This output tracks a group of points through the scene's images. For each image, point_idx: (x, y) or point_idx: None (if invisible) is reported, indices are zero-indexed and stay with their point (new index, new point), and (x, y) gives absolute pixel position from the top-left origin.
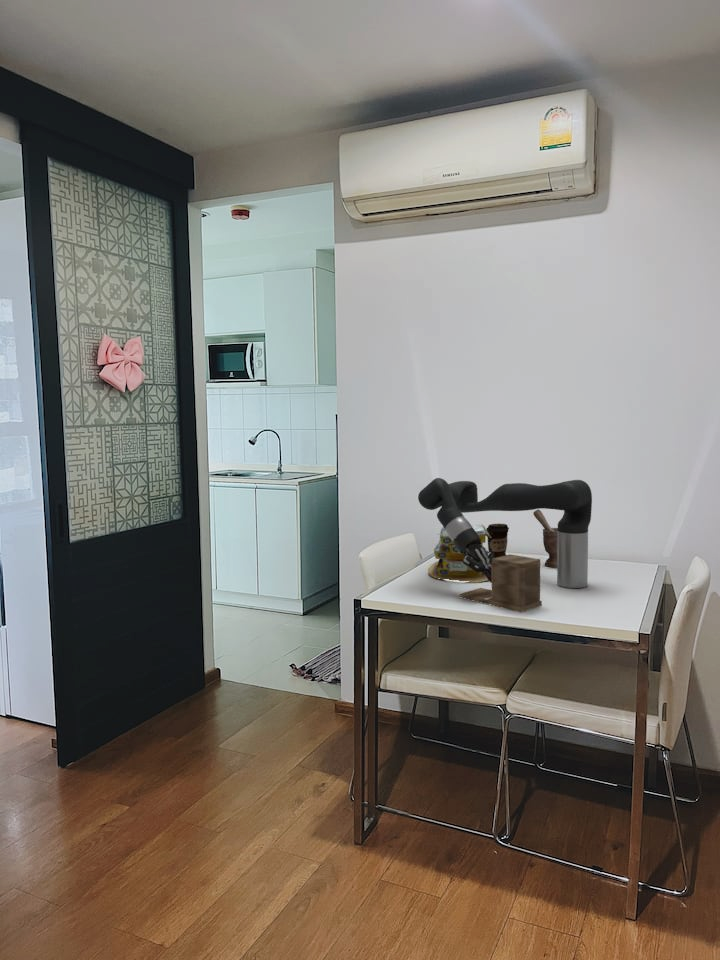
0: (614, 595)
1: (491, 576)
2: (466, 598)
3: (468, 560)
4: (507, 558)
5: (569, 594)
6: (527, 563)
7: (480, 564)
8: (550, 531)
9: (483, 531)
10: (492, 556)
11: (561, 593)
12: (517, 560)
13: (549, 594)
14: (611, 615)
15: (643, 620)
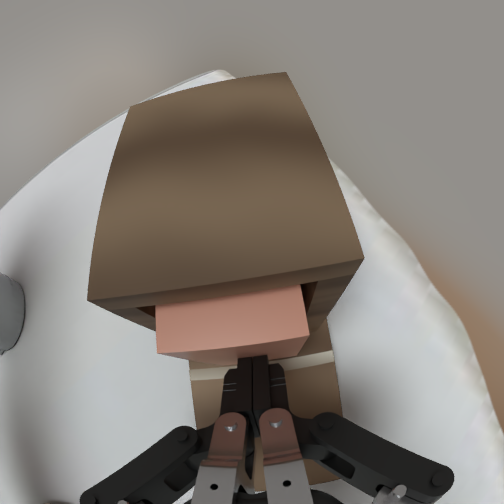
0: (39, 207)
1: (277, 374)
2: None
3: (433, 468)
4: (236, 188)
5: (60, 263)
6: (243, 80)
7: (333, 440)
8: None
9: None
10: (128, 480)
11: (61, 283)
12: (235, 120)
13: (82, 297)
14: None
15: (158, 93)
